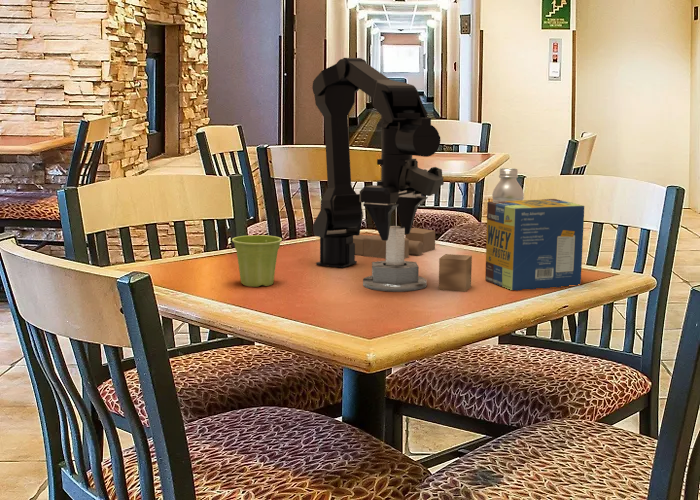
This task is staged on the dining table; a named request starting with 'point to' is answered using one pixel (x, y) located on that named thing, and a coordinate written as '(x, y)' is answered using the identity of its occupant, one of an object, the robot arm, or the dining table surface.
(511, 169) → the plastic bottle
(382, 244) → the wooden block set
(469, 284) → the brown wooden block
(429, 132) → the robot arm
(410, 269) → the socket
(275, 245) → the plant pot
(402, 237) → the tan elongated piece
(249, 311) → the dining table surface
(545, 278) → the protein box
